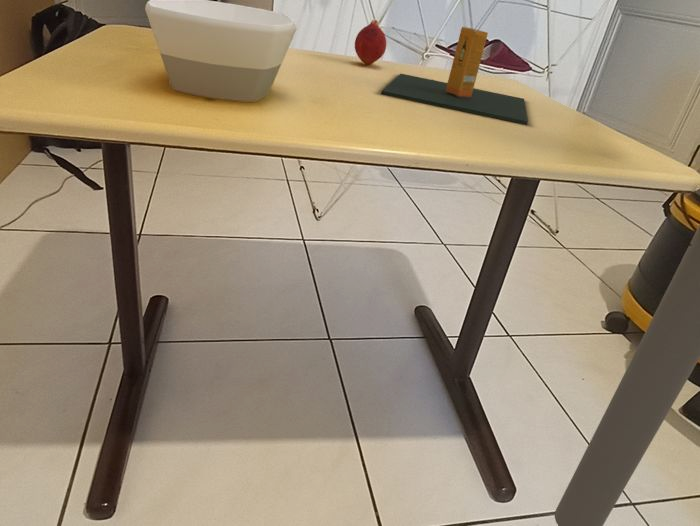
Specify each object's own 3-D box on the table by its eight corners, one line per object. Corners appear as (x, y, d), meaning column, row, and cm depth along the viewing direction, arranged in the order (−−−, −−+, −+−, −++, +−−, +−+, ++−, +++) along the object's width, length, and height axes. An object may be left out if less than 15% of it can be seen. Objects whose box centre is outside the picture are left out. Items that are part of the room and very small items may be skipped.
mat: (523, 101, 97) (524, 98, 97) (527, 124, 81) (528, 121, 81) (400, 76, 100) (400, 73, 100) (380, 94, 84) (381, 90, 84)
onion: (380, 70, 102) (388, 23, 98) (349, 64, 102) (356, 17, 98) (384, 66, 107) (391, 21, 103) (354, 60, 107) (361, 15, 103)
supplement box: (473, 97, 90) (490, 32, 85) (457, 97, 88) (473, 30, 83) (459, 92, 92) (475, 28, 88) (444, 92, 91) (459, 26, 86)
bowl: (127, 93, 64) (124, 4, 59) (169, 65, 79) (169, -7, 75) (283, 116, 65) (291, 31, 61) (294, 84, 81) (301, 14, 76)
